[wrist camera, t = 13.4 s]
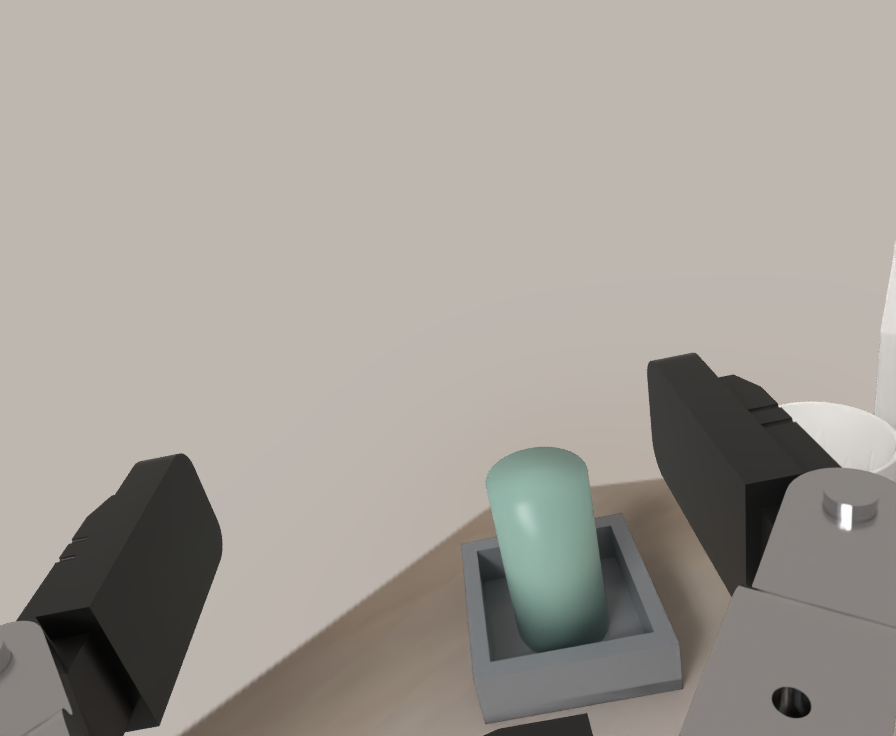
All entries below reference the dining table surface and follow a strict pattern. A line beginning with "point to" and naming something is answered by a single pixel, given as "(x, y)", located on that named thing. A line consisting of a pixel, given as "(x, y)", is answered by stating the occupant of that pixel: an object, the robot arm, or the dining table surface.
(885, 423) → the white cup
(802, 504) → the robot arm
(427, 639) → the dining table surface
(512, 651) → the dish
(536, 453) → the mint green cylinder
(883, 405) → the milk carton
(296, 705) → the dining table surface
